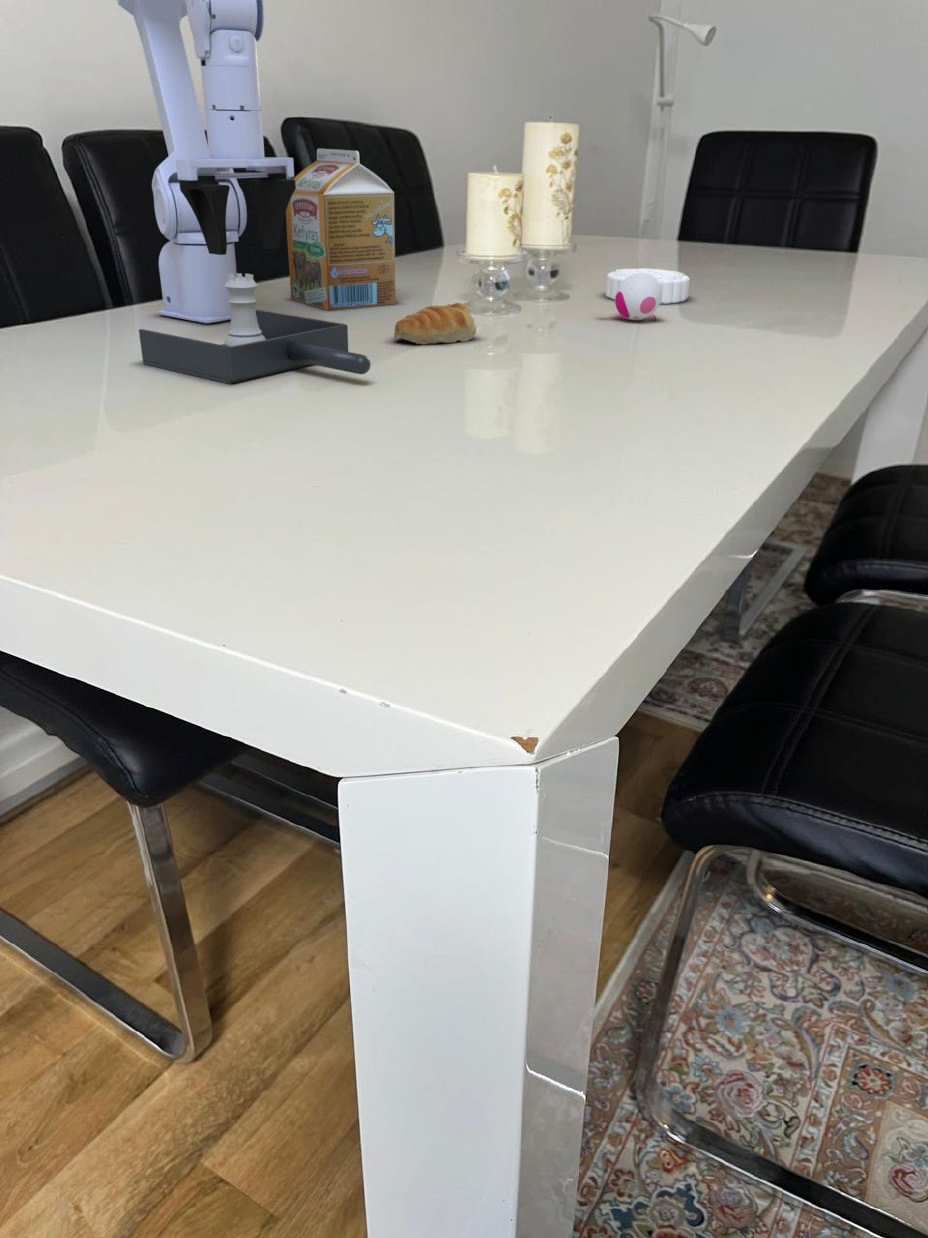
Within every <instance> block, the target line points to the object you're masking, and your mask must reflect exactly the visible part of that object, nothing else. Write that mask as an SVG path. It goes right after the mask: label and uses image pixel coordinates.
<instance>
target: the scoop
mask: <svg viewBox="0 0 928 1238" xmlns="http://www.w3.org/2000/svg"><path fill="white" fill-rule="evenodd" d="M255 312H256V317H257V322H258V326H259V329H260V330H261V331H262V335H263V336H264V337H265V338H266V340H262V341H257V342H252V343H247V344H242V345H237V346H232V347H229V346H226V345H225V343H221V344H220V343H219V344H218V343H215V342H208V341H204V340H199V339H193V338H190V337H189V338H188V337H184V336H179V335H174V334H169V333H164V332H159V331H154V330H149V329H145V328H139V329H138V334H139V342H140V350H141V356H142V357H141V358H142V364H143V365H146V366H150V367H155V368H160V369H164V370H168V371H172V372H177V373H182V374H186V375H189V376H194V377H198V378H202V379H207V380H210V381H216V382H220V383H224V384H228V385H231V384H236V383H239V382H243V381H249V380H253V379H257V378H260V377H261V378H262V377H265V376H270V375H274V374H278V373H282V372H286V371H291V370H294V369H299V368H304V367H307V366H317V367H322V368H327V369H333V370H336V371H337V370H338V371H342V372H348V373H353V374H357V375H365V374H367V373H368V372H369V371H370V370H371V365H372V364H371V360H370V359H369V357H368V356H367V355H365V354H361V353H357V352H356V353H355V352H349V330H348V329H349V328H348V324H346V323H341V322H334V321H330V320H329V321H328V320H323V319H317V318H310V317H305V316H299V315H293V314H287V313H281V312H276V311H269V310H263V309H255Z"/></svg>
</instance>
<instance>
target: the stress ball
mask: <svg viewBox="0 0 928 1238" xmlns="http://www.w3.org/2000/svg"><path fill="white" fill-rule="evenodd" d="M661 299H662V289H661V286H660V284H659V282H658V281H657V280H656V279H655V278H654V277H653V276H651V275H649V274H645V273H637V274H633V275H631V276H629V277H627V278H626V279H624V280H623V281H622V282H621V284H620V285H619V286H618V288H617V290H616V294H615V300H614V305H615V308H616V310H617V312H618V313H619V315H621V316H609V318H612V319H613V318H615V319H627V320H629V321H642V320H644V319H647V318H649V317H651V316H653V320H654V321H656V322H658V318H657V317H656V316H655V315H654V313H655V312H656V311H657V310H658V308H659V307H660V305H661V304H660V302H661Z"/></svg>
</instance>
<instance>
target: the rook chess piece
mask: <svg viewBox="0 0 928 1238" xmlns="http://www.w3.org/2000/svg"><path fill="white" fill-rule="evenodd" d="M227 276H228V280H227V282H226V284H225V287H226V288H227V290H228V291H229V292H230V299H229V300H228V302H229V303H230V304H231V319H230V325H229V330H228V331H227V334H228V335H227V336H226V337H225V339H224V344H225V345H226V346H229V347H232V346H237V345H242V344H247V343H252V342H257V341H262V340H266V338H265V337H264V336H263V335H262V331H261V330H260V329H259V326H258V322H257V317H256V312H255V310H256V303H257V299H256V298H255V291H256V290H257V287H258V284H257V282H256V281H255V280H254V274H250V273H245V274H244V276H243V273H241V272H240V273H238V272H237V278H235V276H234V274H229V275H227Z"/></svg>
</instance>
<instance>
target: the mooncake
mask: <svg viewBox="0 0 928 1238" xmlns="http://www.w3.org/2000/svg"><path fill="white" fill-rule="evenodd" d="M637 273H645V274H649V275H651V276H653V277H654V278H655V279H656V280H657V281H658V282H659V284H660V286H661V289H662V299H661V302H660V305H670V304H679V303H683V302H685V301H686V300H688V299H689V290H690V284H691V283H690V281H691V278H690V277H689V276H688V275H685V273H684V272H680V271H676V270H667V269H661V268H647V267H643V268H621V269H615V271H610V272H609V273H607V275H606V282H605V296H606V298H608V299H611V300H614V301H615V294H616V290H617V288H618V286H619V285H620V284H621V282H622V281H623V280H624V279H626V278H627V277H629V276H631V275H633V274H637Z"/></svg>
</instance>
